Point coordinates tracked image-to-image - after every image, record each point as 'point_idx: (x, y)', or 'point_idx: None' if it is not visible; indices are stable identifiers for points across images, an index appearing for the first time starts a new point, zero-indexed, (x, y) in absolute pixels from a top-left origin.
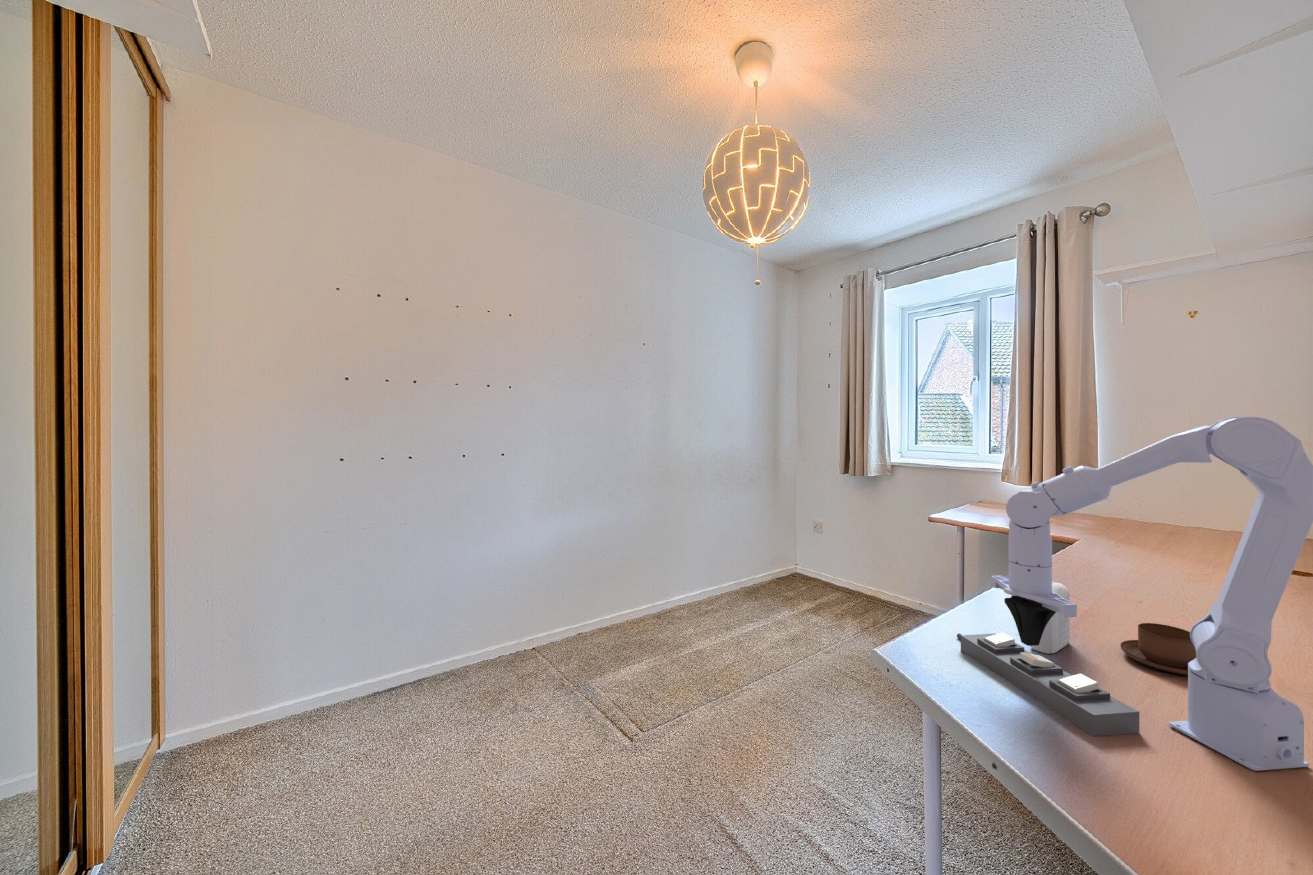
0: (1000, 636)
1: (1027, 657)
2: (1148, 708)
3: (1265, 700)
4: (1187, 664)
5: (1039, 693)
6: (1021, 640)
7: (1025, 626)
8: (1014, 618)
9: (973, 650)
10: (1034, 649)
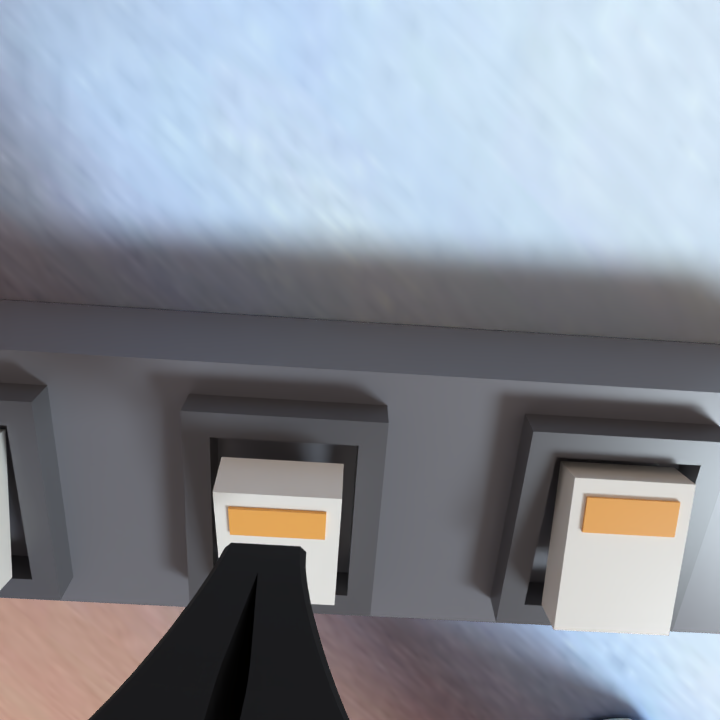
0: (634, 580)
1: (271, 487)
2: (57, 701)
3: None
4: None
5: (113, 326)
6: (289, 554)
7: (160, 677)
8: (324, 715)
9: (697, 366)
10: (621, 718)
